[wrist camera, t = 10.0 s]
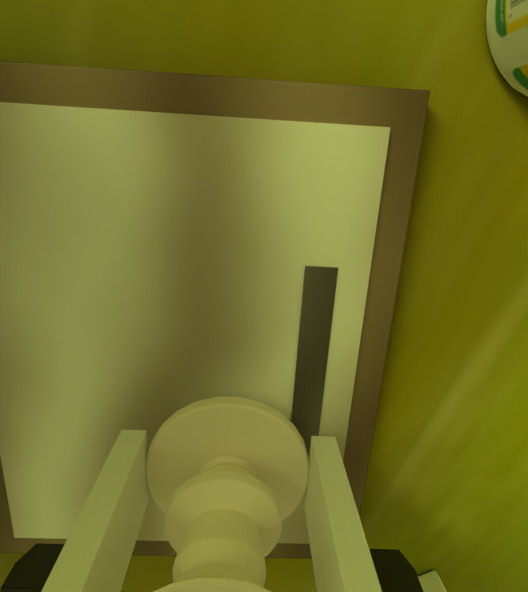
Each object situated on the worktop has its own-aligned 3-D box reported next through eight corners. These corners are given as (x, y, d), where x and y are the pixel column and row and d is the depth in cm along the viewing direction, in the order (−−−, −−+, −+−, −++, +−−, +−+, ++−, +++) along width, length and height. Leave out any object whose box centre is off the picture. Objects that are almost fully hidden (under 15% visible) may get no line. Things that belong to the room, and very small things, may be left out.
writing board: (6, 534, 16) (-10, 558, 15) (-80, 61, 11) (-113, 51, 10) (348, 541, 17) (353, 565, 16) (418, 95, 12) (433, 89, 11)
